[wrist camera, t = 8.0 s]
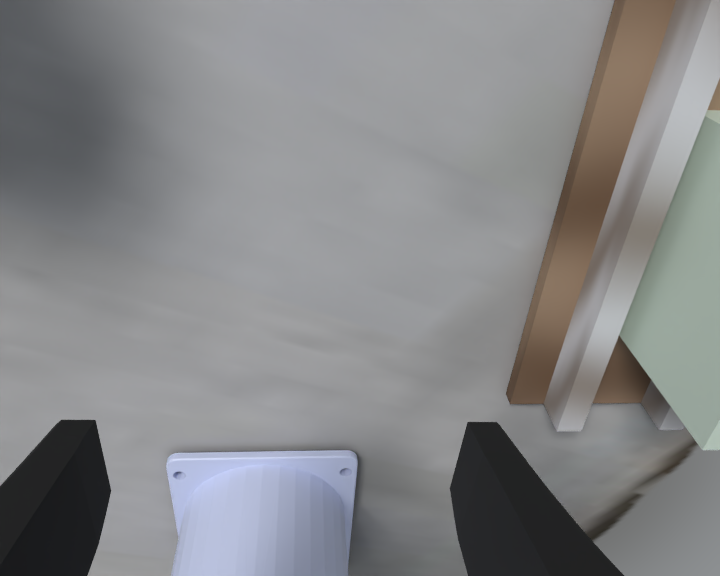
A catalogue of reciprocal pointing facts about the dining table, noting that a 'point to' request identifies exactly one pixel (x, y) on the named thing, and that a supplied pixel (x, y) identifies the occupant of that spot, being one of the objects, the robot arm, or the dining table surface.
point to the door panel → (685, 295)
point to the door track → (617, 209)
